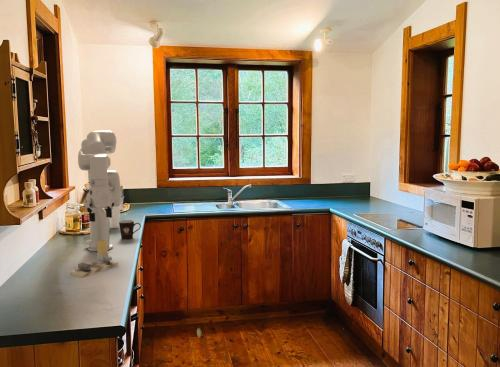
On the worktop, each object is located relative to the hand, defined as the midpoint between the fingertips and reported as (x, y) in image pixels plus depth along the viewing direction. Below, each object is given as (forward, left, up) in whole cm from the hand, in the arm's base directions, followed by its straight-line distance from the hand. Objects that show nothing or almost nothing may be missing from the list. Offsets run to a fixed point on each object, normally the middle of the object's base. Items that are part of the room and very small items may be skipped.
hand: (100, 219), depth 209 cm
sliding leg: (+2, -1, -20) cm, 20 cm away
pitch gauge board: (0, -7, -22) cm, 23 cm away
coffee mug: (-16, +50, -22) cm, 57 cm away
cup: (-42, +74, -22) cm, 88 cm away
